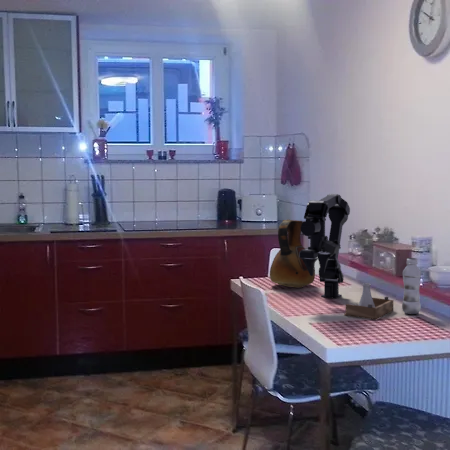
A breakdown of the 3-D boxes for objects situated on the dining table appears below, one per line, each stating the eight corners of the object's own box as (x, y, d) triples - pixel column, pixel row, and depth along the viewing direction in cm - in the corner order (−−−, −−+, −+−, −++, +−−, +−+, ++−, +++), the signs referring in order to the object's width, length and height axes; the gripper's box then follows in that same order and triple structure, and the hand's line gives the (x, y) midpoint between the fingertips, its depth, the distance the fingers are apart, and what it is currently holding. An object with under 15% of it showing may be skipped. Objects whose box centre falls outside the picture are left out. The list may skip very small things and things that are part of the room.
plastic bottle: (420, 312, 229) (421, 257, 227) (420, 316, 223) (421, 260, 221) (402, 311, 231) (403, 257, 229) (401, 315, 225) (402, 259, 223)
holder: (362, 306, 239) (363, 293, 239) (393, 310, 232) (393, 297, 232) (344, 315, 226) (344, 301, 225) (375, 319, 219) (376, 305, 218)
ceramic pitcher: (322, 284, 283) (322, 218, 280) (302, 292, 266) (302, 222, 263) (283, 280, 293) (282, 216, 290) (262, 288, 276) (261, 220, 273)
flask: (353, 309, 233) (354, 282, 232) (373, 308, 233) (373, 281, 232) (359, 313, 226) (359, 286, 225) (379, 313, 226) (379, 285, 225)
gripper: (325, 237, 228) (325, 279, 230) (347, 232, 243) (347, 272, 245) (298, 235, 235) (298, 276, 237) (321, 230, 250) (321, 269, 252)
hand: (317, 273), depth 242 cm, fingers open, 9 cm apart
